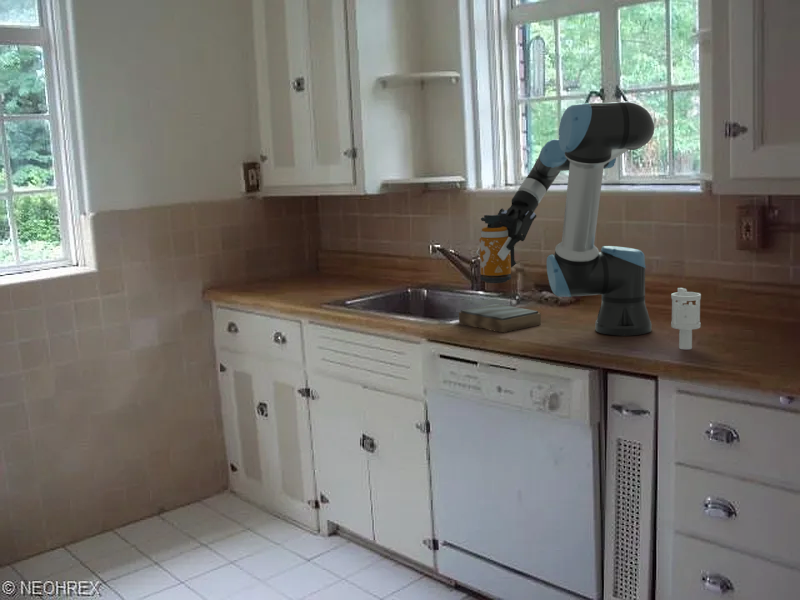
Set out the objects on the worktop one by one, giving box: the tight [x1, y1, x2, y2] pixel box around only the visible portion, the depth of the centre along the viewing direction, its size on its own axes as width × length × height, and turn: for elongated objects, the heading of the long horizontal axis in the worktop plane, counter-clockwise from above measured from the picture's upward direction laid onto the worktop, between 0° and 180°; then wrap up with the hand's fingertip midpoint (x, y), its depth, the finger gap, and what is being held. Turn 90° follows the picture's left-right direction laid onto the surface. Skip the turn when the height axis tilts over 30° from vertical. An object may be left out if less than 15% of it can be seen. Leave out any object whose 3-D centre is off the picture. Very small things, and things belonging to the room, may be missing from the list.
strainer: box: [670, 287, 702, 351], centre depth 233 cm, size 7×7×15 cm
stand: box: [458, 303, 542, 333], centre depth 273 cm, size 19×15×4 cm
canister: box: [478, 212, 517, 284], centre depth 272 cm, size 9×11×20 cm
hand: (489, 256), depth 270 cm, fingers closed on canister, 9 cm apart
